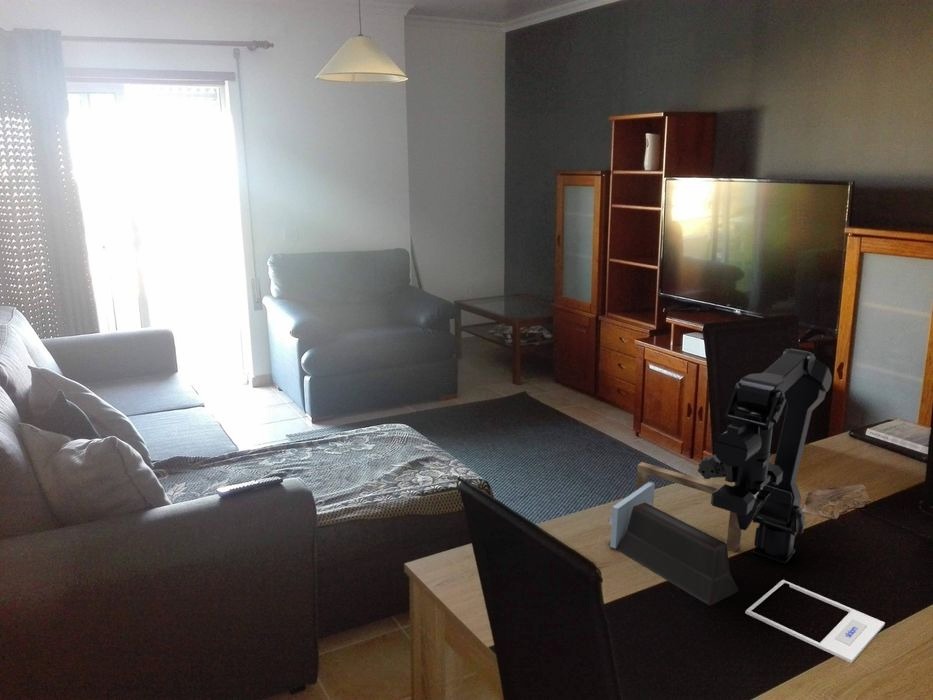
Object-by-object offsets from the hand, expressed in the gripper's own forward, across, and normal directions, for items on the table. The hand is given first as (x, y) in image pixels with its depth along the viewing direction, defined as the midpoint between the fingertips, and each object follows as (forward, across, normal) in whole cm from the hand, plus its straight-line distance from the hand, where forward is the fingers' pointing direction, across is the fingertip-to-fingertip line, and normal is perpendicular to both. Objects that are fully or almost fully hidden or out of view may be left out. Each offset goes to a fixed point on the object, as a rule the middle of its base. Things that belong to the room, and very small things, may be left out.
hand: (743, 529), depth 135 cm
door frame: (+13, -15, -16) cm, 26 cm away
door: (+13, -7, -26) cm, 29 cm away
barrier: (+14, 0, -12) cm, 18 cm away
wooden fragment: (+14, -53, +4) cm, 55 cm away
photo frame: (+14, -1, +14) cm, 19 cm away
